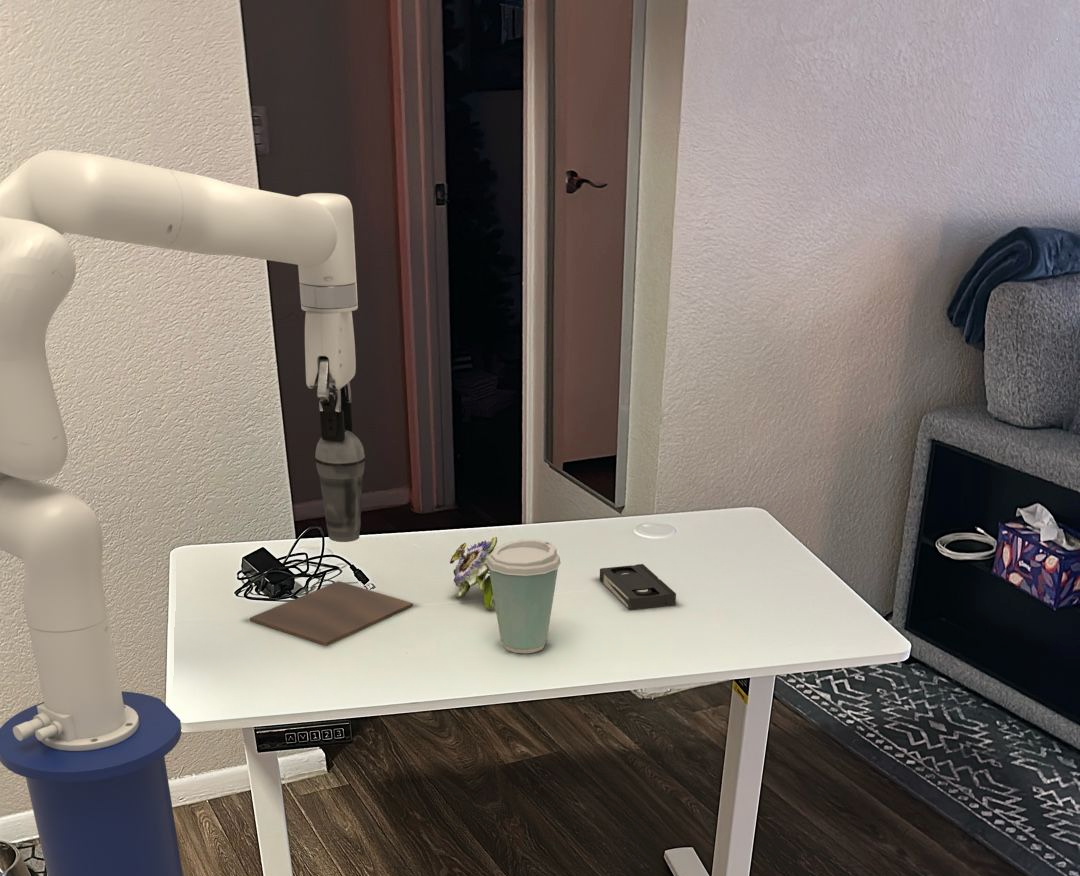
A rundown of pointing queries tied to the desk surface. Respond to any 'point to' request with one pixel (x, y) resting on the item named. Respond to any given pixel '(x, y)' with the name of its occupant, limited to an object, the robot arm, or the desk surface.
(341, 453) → the beverage cup
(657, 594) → the vhs tape
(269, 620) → the walnut board
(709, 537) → the desk surface
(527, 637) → the disposable coffee cup
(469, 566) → the passion flower
